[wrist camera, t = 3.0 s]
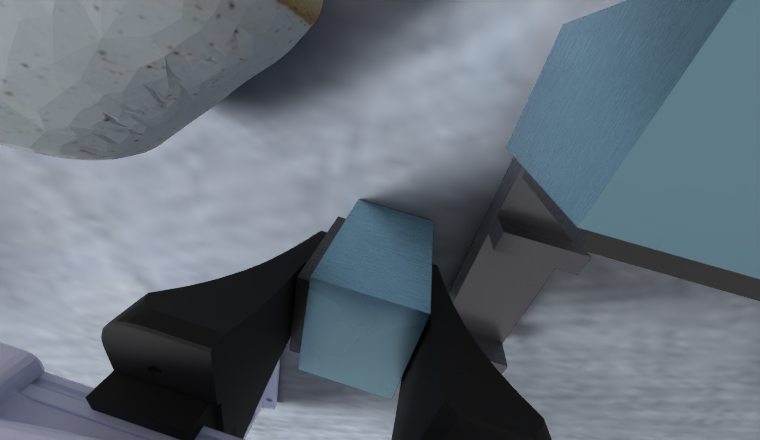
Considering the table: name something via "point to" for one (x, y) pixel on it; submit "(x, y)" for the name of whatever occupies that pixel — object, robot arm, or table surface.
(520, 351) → the table surface
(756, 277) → the rail
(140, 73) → the ceramic mug
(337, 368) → the teal brushed-finish brick
